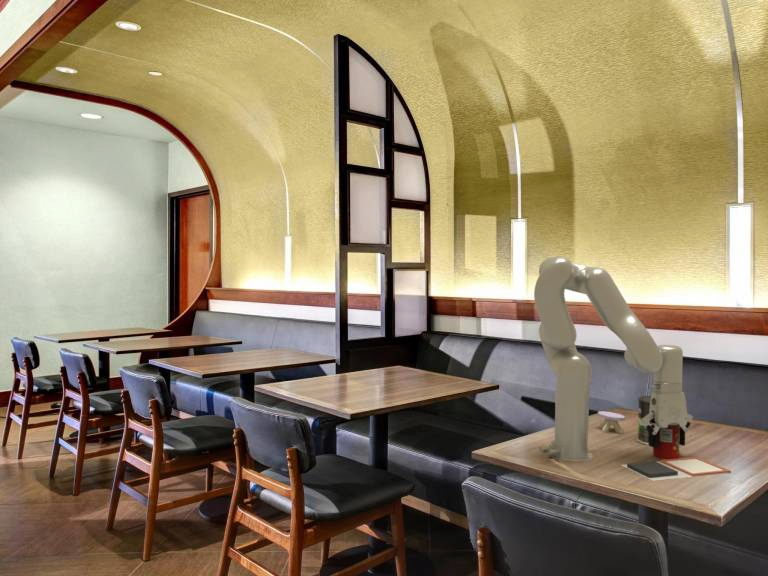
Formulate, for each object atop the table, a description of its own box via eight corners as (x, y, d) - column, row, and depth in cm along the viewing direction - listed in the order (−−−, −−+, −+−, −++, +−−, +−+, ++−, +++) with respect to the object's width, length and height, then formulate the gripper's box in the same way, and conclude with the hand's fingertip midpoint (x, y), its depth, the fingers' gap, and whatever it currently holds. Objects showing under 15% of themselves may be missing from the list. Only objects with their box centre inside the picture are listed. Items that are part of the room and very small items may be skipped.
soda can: (681, 465, 178) (682, 423, 177) (654, 463, 179) (655, 421, 179) (676, 458, 184) (677, 417, 184) (650, 456, 186) (651, 415, 186)
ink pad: (649, 478, 163) (649, 474, 163) (627, 467, 172) (627, 463, 172) (677, 475, 166) (677, 471, 166) (654, 464, 174) (654, 461, 174)
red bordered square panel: (692, 476, 165) (692, 474, 165) (659, 461, 177) (659, 460, 177) (730, 472, 168) (730, 470, 168) (695, 458, 180) (695, 456, 180)
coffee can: (634, 443, 199) (635, 400, 199) (639, 436, 208) (640, 394, 208) (669, 448, 194) (671, 404, 193) (673, 440, 203) (674, 398, 202)
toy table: (590, 428, 218) (591, 412, 218) (610, 426, 221) (611, 410, 221) (611, 435, 209) (611, 418, 209) (631, 432, 212) (631, 416, 212)
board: (652, 485, 161) (652, 480, 161) (620, 469, 174) (621, 465, 174) (727, 477, 168) (727, 473, 168) (691, 462, 180) (691, 458, 180)
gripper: (651, 391, 175) (650, 451, 176) (701, 388, 180) (700, 446, 181) (634, 386, 182) (633, 444, 183) (682, 383, 187) (681, 439, 188)
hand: (666, 445), depth 182 cm, fingers open, 9 cm apart
